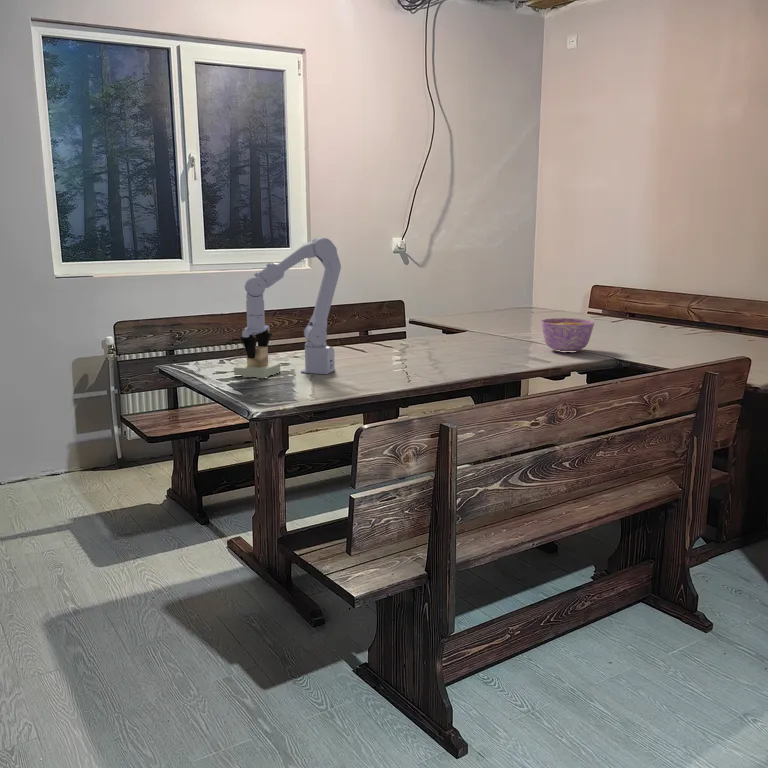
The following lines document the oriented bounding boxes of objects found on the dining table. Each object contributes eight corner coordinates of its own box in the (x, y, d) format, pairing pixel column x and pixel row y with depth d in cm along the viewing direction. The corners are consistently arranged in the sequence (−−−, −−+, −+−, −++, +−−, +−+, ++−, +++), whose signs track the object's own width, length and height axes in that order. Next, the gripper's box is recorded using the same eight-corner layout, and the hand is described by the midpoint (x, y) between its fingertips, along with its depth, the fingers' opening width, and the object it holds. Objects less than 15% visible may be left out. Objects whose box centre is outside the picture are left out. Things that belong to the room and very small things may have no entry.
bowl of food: (588, 347, 305) (589, 318, 303) (596, 356, 286) (598, 325, 284) (537, 346, 307) (538, 317, 305) (542, 355, 288) (543, 324, 285)
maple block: (268, 364, 254) (267, 346, 252) (260, 367, 249) (260, 349, 248) (254, 363, 255) (254, 345, 254) (247, 366, 251) (246, 348, 249)
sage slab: (280, 372, 256) (280, 363, 255) (264, 378, 246) (264, 369, 245) (251, 370, 260) (250, 361, 259) (234, 376, 250) (234, 367, 249)
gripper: (255, 311, 257) (257, 351, 259) (233, 316, 243) (234, 359, 246) (274, 312, 254) (275, 353, 257) (252, 317, 241) (254, 360, 244)
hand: (257, 356), depth 251 cm, fingers open, 7 cm apart
